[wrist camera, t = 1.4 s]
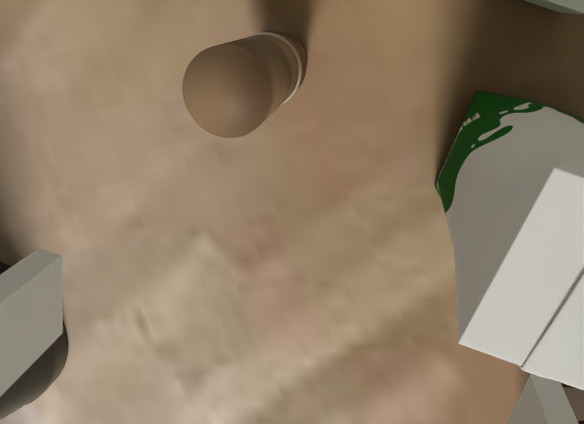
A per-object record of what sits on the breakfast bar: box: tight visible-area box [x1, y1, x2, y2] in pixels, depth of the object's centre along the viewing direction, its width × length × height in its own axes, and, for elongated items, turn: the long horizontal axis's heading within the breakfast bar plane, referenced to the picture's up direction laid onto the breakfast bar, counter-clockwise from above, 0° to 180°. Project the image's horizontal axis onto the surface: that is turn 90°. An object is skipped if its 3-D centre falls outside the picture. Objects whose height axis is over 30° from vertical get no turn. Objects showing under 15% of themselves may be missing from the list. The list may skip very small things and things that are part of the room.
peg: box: [183, 32, 307, 138], centre depth 28 cm, size 4×4×13 cm
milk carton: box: [435, 90, 584, 390], centre depth 25 cm, size 9×9×20 cm
